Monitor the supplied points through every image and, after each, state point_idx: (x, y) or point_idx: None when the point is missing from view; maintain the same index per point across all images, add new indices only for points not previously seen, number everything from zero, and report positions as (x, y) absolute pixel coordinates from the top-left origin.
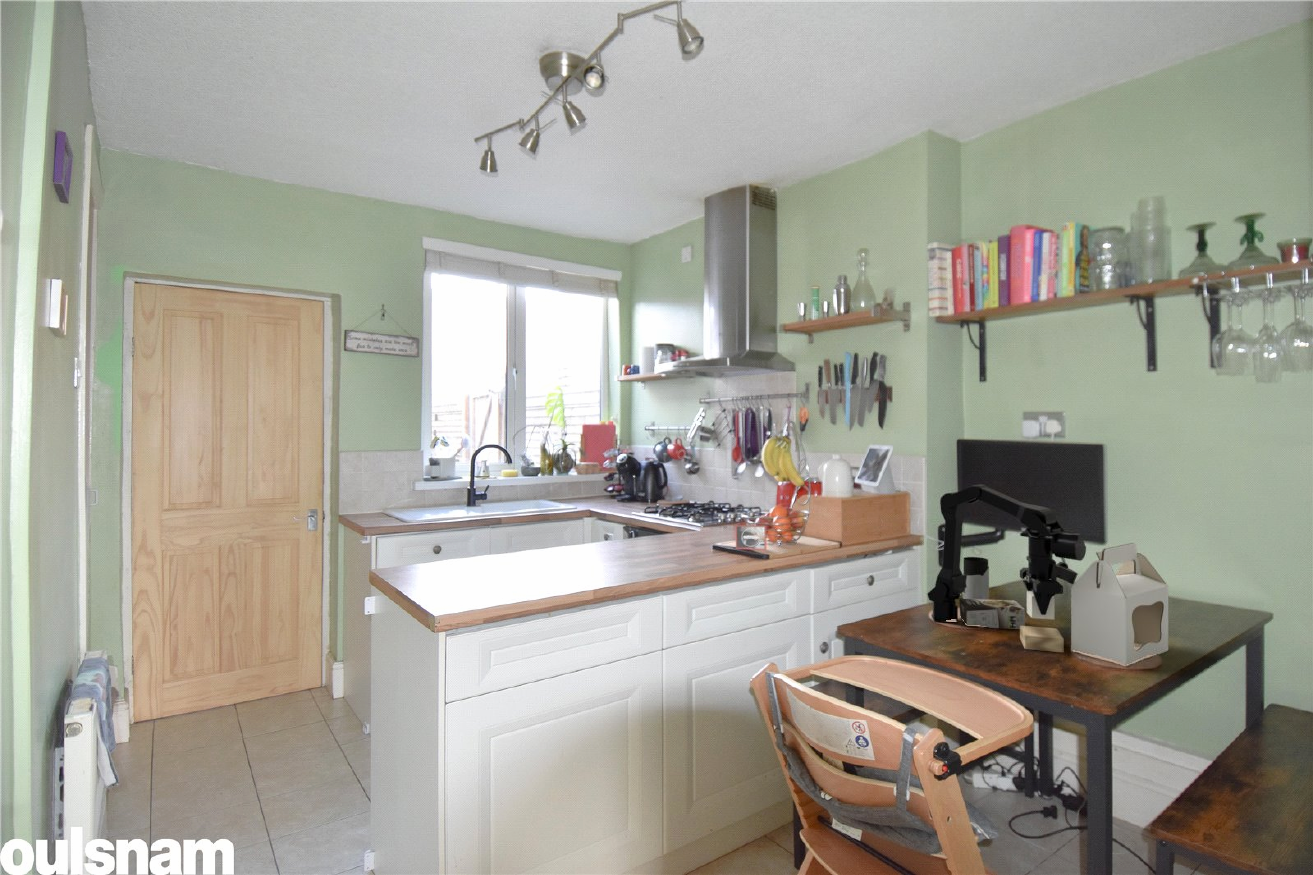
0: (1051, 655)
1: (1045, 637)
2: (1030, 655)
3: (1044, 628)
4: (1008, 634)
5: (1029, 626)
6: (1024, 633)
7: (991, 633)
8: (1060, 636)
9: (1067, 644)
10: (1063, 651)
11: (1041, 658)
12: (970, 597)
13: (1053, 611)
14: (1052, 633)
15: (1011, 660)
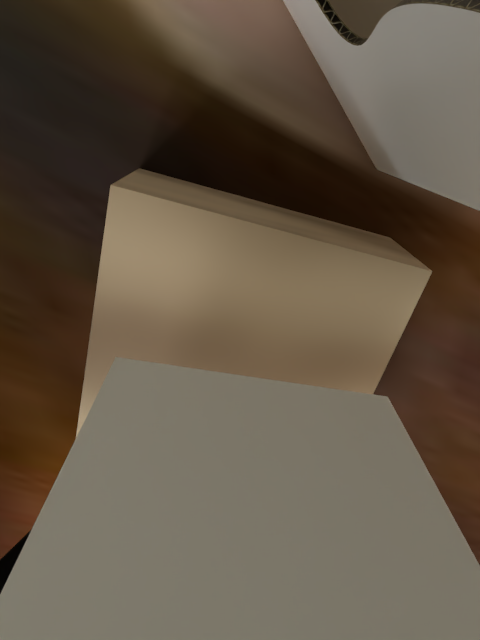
0: (435, 340)
1: (374, 390)
2: (419, 444)
3: (127, 301)
4: (25, 419)
5: (86, 394)
6: None
7: (31, 493)
8: (370, 269)
9: (199, 107)
10: (393, 241)
11: (475, 412)
12: None
13: (429, 490)
14: (278, 297)
15: (474, 540)
